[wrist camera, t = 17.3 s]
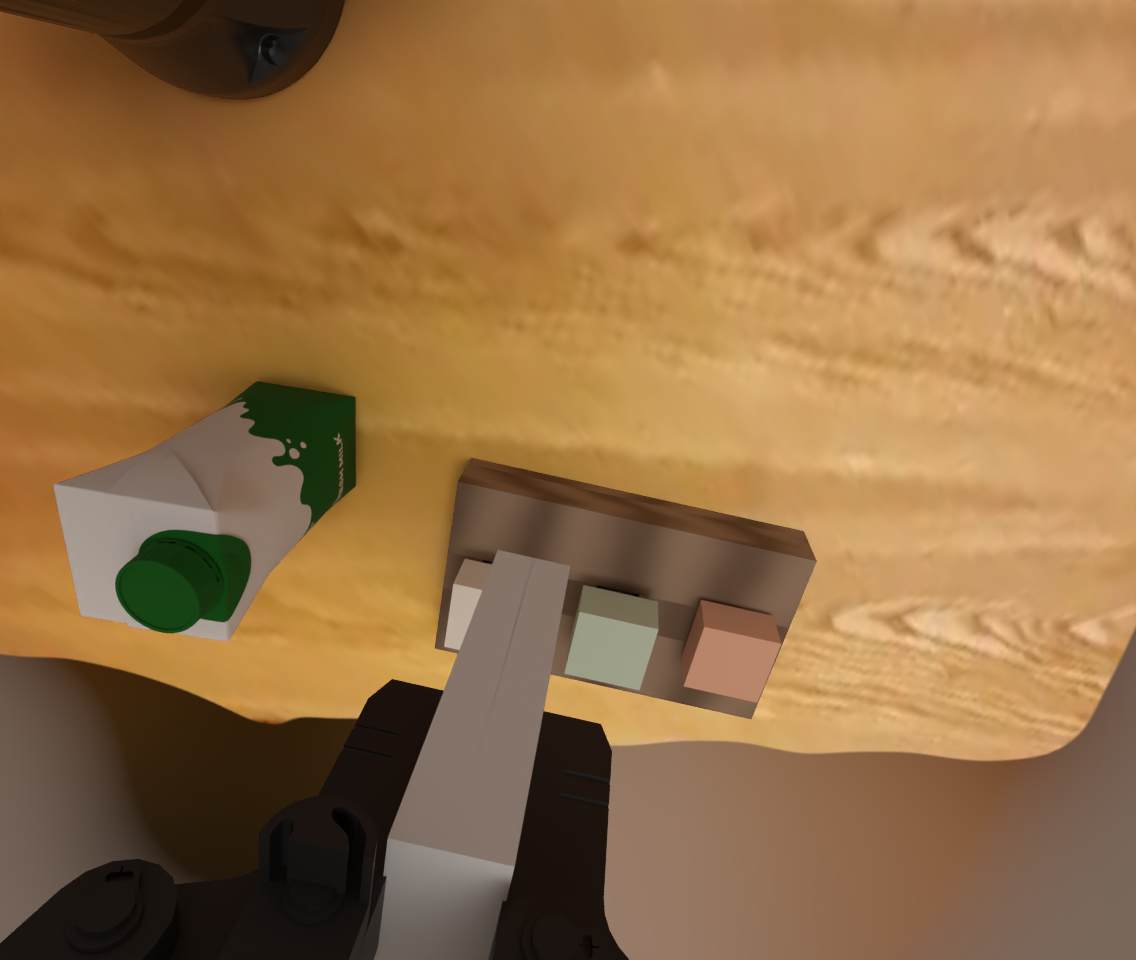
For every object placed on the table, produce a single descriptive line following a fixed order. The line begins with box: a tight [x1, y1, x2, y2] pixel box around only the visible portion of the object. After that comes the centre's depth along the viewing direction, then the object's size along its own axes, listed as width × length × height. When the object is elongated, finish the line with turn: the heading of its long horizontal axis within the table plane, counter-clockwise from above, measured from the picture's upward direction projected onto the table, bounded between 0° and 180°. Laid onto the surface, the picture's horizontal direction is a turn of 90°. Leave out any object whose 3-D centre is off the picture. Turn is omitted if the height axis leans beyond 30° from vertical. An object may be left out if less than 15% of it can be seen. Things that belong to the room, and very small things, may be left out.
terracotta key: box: [682, 600, 781, 703], centre depth 47 cm, size 5×5×6 cm
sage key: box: [564, 585, 659, 691], centre depth 46 cm, size 5×5×6 cm
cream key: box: [444, 559, 493, 650], centre depth 46 cm, size 5×5×6 cm
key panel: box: [435, 458, 816, 719], centre depth 50 cm, size 24×14×4 cm, turn 79°
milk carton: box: [53, 382, 356, 641], centre depth 40 cm, size 9×9×20 cm
